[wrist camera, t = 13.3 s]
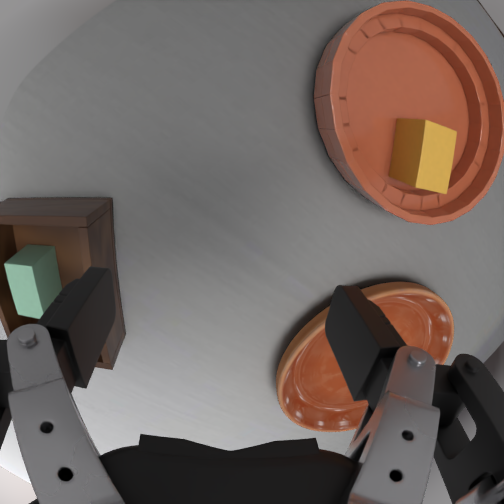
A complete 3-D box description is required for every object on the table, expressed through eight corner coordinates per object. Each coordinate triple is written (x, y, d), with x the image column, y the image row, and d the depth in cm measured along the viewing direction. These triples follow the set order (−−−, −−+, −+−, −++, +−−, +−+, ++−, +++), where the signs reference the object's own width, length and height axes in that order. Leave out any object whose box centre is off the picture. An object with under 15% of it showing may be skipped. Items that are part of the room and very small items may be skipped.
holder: (7, 198, 22) (-26, 215, 17) (112, 197, 24) (86, 216, 19) (32, 319, 28) (11, 348, 23) (126, 333, 29) (112, 370, 24)
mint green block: (27, 243, 24) (3, 263, 20) (54, 245, 24) (31, 266, 20) (37, 291, 26) (17, 314, 22) (63, 295, 26) (45, 320, 22)
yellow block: (396, 117, 22) (425, 119, 18) (427, 127, 23) (457, 131, 19) (388, 176, 25) (415, 187, 20) (418, 182, 25) (446, 194, 21)
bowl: (320, -11, 18) (338, -31, 14) (480, 57, 20) (508, 55, 16) (299, 196, 25) (314, 211, 21) (461, 219, 28) (486, 234, 23)
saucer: (272, 285, 28) (279, 307, 25) (458, 264, 30) (477, 278, 26) (272, 423, 38) (276, 443, 34) (413, 392, 39) (423, 409, 36)
